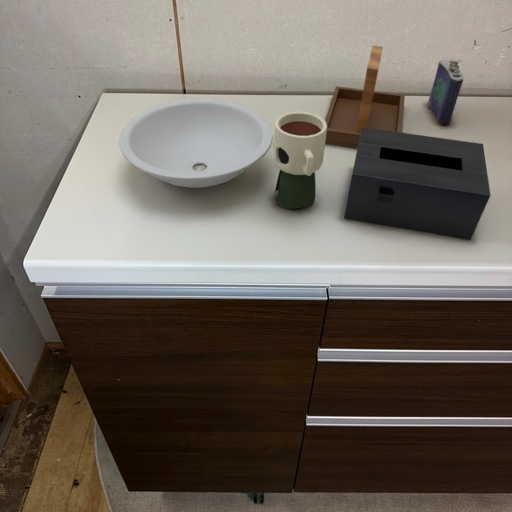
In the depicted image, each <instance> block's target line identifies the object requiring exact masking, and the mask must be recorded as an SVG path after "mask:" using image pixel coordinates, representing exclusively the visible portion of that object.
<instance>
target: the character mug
mask: <svg viewBox="0 0 512 512" xmlns="http://www.w3.org/2000/svg"><path fill="white" fill-rule="evenodd" d="M326 133H327V125H326V121H325V118H323V117H322V116H320V115H317V114H315V113H312V112H307V111H292V112H287V113H284V114H282V115H281V116H279V117H277V119H276V120H275V124H274V142H273V143H274V145H273V163H274V166H275V168H277V169H278V170H279V171H278V176H277V180H276V186H275V188H274V189H275V190H274V197H276V203H277V204H279V205H280V206H281V207H283V208H287V209H290V210H294V209H301V208H302V209H303V208H305V207H308V206H310V205H311V204H313V203H314V202H315V199H316V192H317V191H316V186H317V185H316V172H317V171H319V170H320V169H321V167H322V165H323V162H324V154H325V147H326V144H325V140H326Z"/></svg>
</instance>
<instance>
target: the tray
mask: <svg viewBox="0 0 512 512" xmlns="http://www.w3.org/2000/svg"><path fill="white" fill-rule="evenodd" d="M363 89H364V88H363ZM363 89H362V88H353V87H346V86H337V85H336V86H335V87H334V91H333V94H332V96H331V100H330V104H329V107H328V110H327V113H326V116H325V118H324V120H325V121H326V125H327V133H326V140H325V145H329V146H337V147H344V148H351V149H357V148H358V143H359V138H360V134H361V133H359V132H356V129H357V123H358V117H359V112H360V106H361V100H362V95H363ZM405 98H406V94H403V93H394V92H385V91H379V90H377V91H376V90H374V95H373V100H372V106H371V111H370V116H369V120H368V125H367V128H371V129H378V130H386V131H393V132H400V133H403V119H404V109H405Z"/></svg>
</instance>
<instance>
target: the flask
mask: <svg viewBox="0 0 512 512" xmlns="http://www.w3.org/2000/svg"><path fill="white" fill-rule="evenodd" d="M459 63H462V60H460V59H458V60H457V59H449V60H447V59H444V60H439V61H438V64H437V65H438V66H437V69H436V73H435V76H434V80H433V82H432V83H433V84H432V87H431V90H430V94H429V97H428V100H427V108H428V109H429V111H430V113H431V114H432V116H434V118H435V120H436V123H437V124H438V125H440V126H442V127H449V126H450V125H451V122H452V118H453V114H454V111H455V107H456V104H457V101H458V98H459V95H460V91H461V88H462V86H463V82H464V77H463V73H462V71H461V70H460V66H459V65H458V64H459Z"/></svg>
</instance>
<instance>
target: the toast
mask: <svg viewBox="0 0 512 512" xmlns="http://www.w3.org/2000/svg"><path fill="white" fill-rule="evenodd" d="M383 48H384V47H383V46H379V45H372V47H371V51H370V56H369V60H368V64H367V66H366V67H367V68H366V72H365V79H364V84H363V95H362V100H361V106H360V112H359V117H358V123H357V129H356V132H359V133H361V129H362V127H364V128H367V125H368V120H369V116H370V111H371V106H372V100H373V95H374V91H376V85H377V80H378V74H379V70H380V64H381V59H382V54H383Z"/></svg>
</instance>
